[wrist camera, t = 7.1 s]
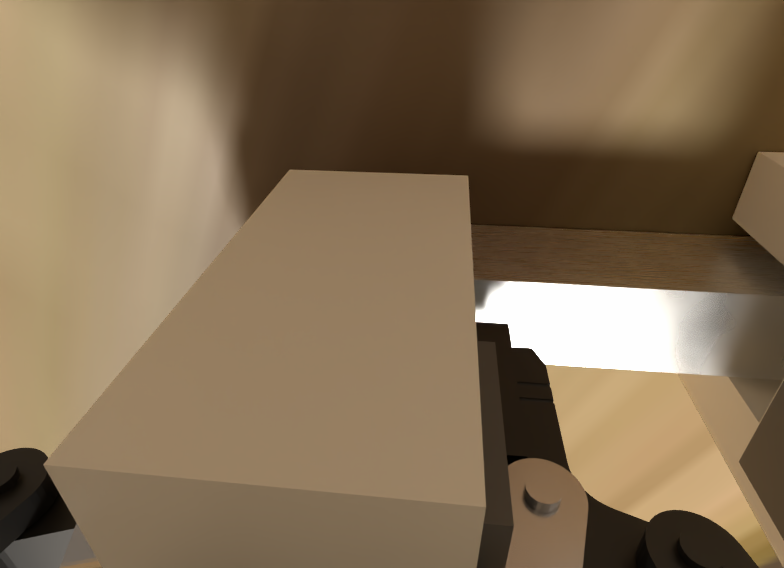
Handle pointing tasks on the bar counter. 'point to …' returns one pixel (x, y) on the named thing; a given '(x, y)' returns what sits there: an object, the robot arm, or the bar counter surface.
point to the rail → (634, 299)
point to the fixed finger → (750, 395)
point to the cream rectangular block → (308, 397)
